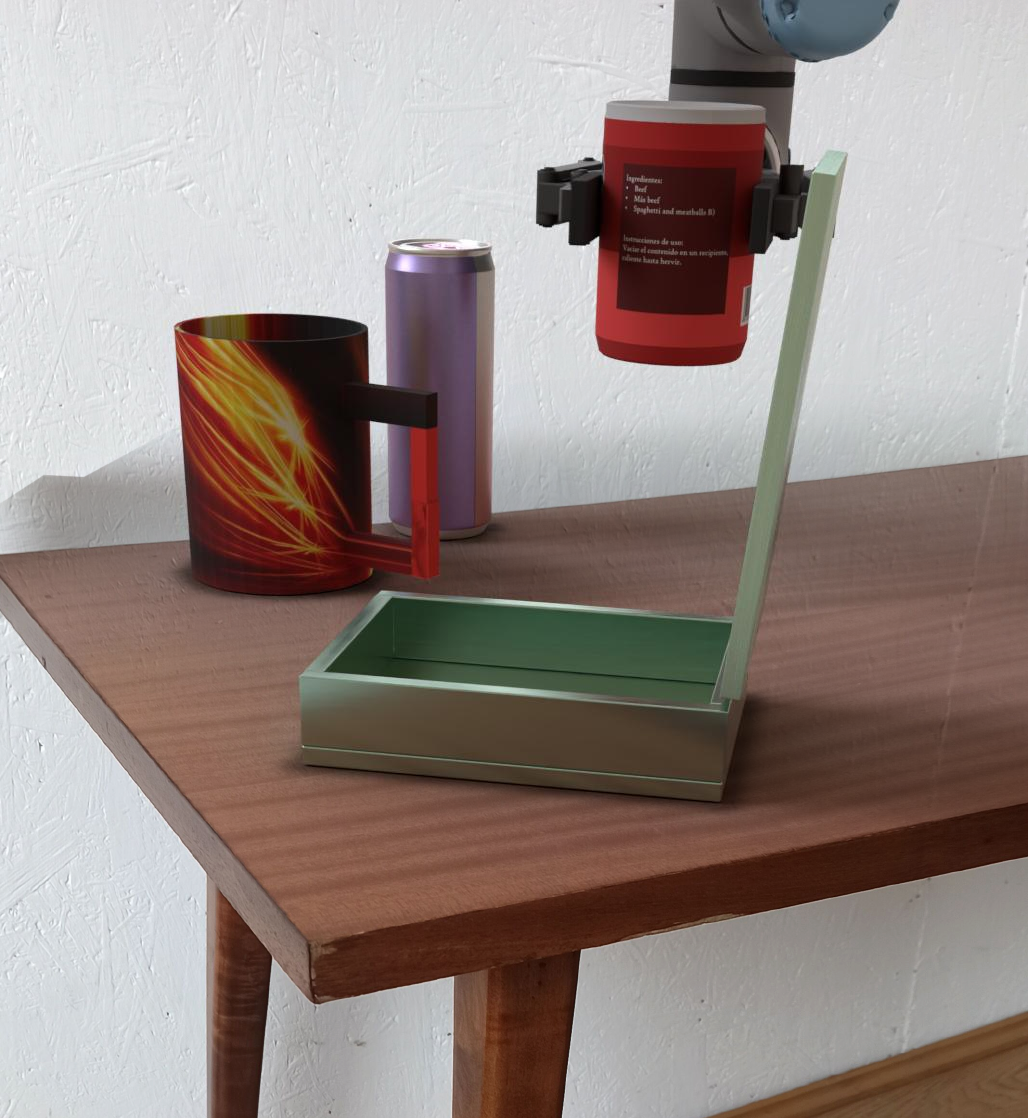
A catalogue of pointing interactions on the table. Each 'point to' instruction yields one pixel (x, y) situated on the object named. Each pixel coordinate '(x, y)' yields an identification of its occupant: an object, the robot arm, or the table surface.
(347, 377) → the mug
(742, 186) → the canned food
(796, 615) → the table surface
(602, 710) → the green open box
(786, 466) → the pale green long bar
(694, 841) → the table surface
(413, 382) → the beverage can
